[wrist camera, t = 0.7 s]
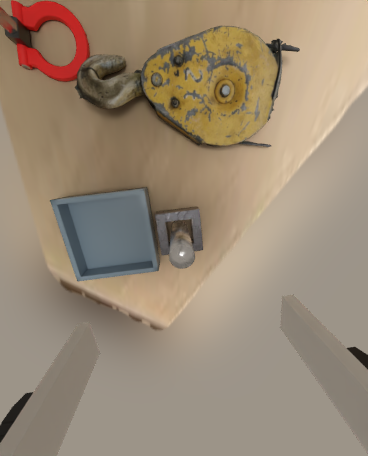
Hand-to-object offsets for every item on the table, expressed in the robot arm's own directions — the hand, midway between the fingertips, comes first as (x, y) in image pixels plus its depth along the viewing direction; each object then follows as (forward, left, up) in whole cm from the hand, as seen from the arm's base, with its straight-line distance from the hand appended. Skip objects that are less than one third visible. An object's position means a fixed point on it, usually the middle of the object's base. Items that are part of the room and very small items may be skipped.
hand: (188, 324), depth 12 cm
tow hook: (-29, -14, -23) cm, 39 cm away
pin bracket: (0, 0, -22) cm, 22 cm away
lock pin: (0, 0, -22) cm, 22 cm away
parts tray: (-1, -12, -22) cm, 25 cm away
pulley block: (-22, +3, -23) cm, 32 cm away
